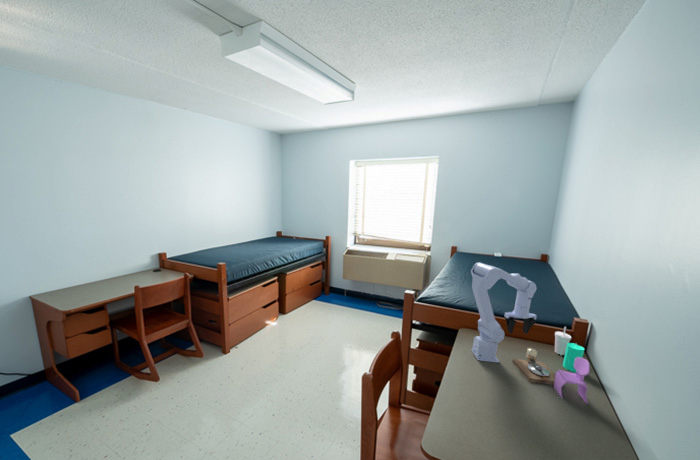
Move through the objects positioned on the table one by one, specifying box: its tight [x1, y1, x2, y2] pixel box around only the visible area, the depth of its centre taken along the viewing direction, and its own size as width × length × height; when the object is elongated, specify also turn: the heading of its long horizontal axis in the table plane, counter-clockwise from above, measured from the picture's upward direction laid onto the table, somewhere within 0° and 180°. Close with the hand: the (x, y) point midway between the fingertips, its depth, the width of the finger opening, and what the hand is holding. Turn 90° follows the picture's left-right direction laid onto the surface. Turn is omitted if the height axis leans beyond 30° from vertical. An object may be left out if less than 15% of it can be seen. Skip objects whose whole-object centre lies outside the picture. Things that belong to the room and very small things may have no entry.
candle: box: [562, 342, 585, 373], centre depth 119 cm, size 6×6×12 cm
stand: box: [512, 358, 556, 386], centre depth 114 cm, size 13×13×2 cm
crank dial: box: [525, 347, 550, 377], centre depth 115 cm, size 12×8×5 cm, turn 172°
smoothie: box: [554, 326, 572, 356], centre depth 130 cm, size 6×6×14 cm
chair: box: [553, 357, 590, 405], centre depth 101 cm, size 8×9×15 cm
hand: (517, 332), depth 127 cm, fingers open, 7 cm apart
